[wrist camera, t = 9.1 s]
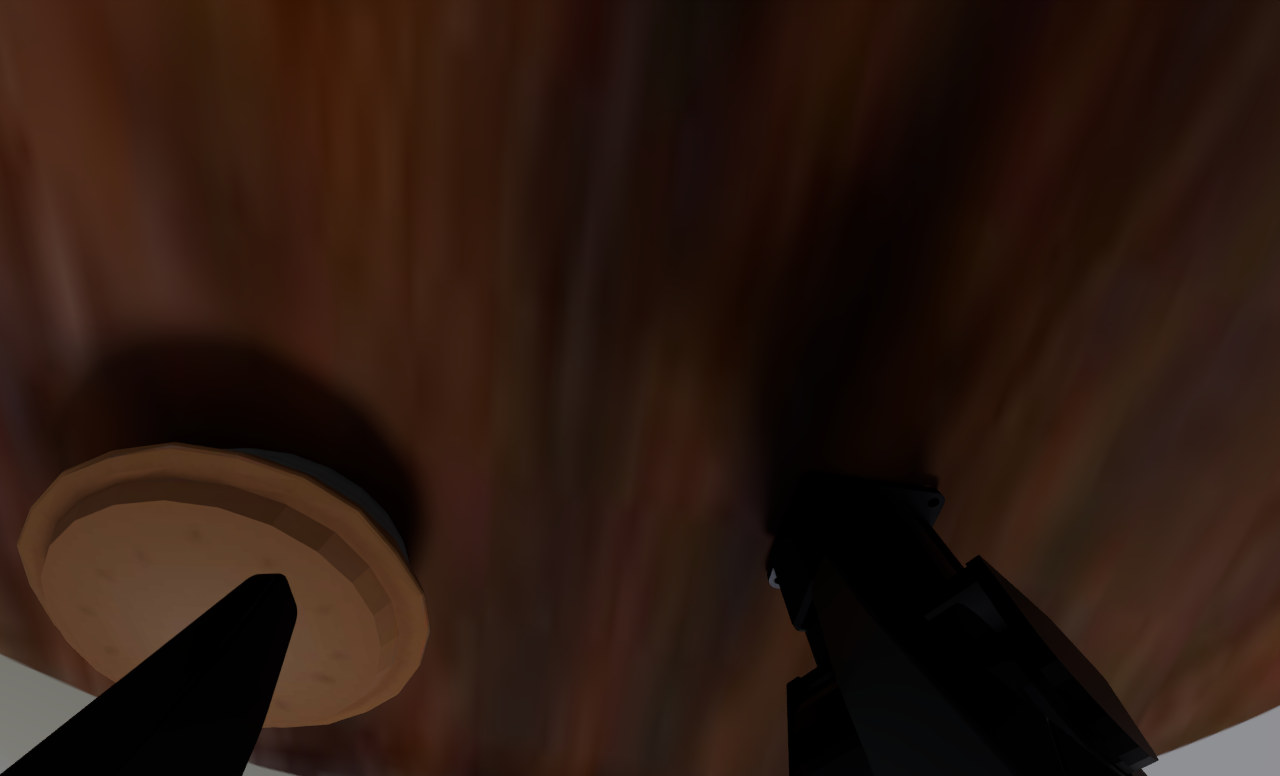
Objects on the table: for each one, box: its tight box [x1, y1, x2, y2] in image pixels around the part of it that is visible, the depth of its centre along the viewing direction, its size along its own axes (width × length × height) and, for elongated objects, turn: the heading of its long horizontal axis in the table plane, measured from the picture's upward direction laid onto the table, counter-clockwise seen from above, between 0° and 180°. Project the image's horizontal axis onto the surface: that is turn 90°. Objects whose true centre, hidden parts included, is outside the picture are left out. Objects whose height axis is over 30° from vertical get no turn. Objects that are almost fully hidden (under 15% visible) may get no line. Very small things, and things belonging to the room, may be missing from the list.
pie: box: [17, 442, 430, 728], centre depth 22 cm, size 15×16×5 cm
